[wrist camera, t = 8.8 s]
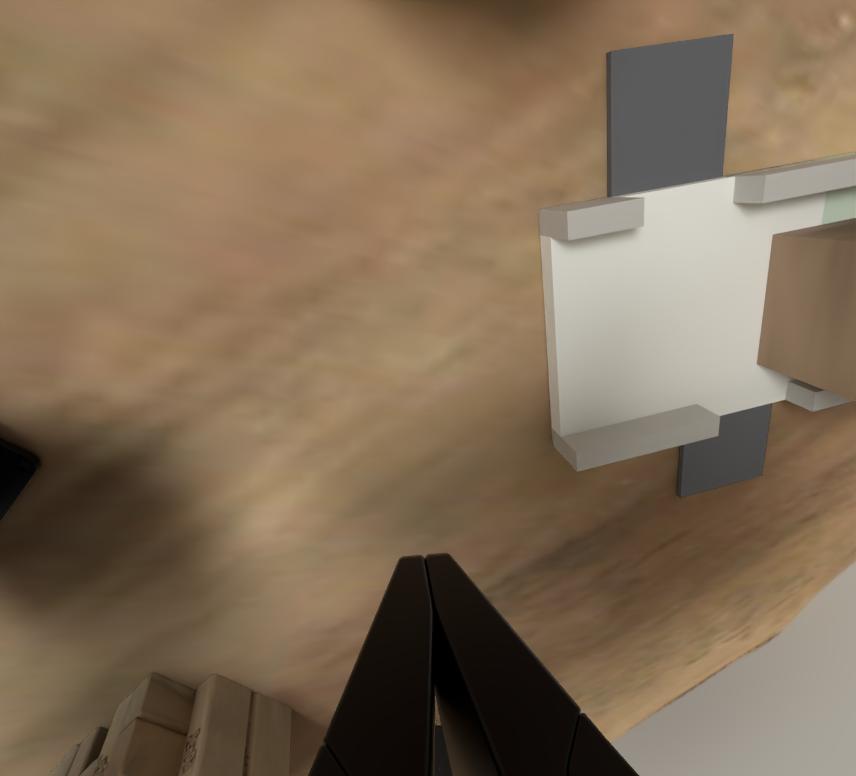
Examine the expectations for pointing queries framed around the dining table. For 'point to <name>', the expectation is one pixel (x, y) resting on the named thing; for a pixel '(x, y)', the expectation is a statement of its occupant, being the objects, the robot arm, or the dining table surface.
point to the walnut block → (812, 307)
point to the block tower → (187, 733)
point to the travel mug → (441, 755)
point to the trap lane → (675, 277)
